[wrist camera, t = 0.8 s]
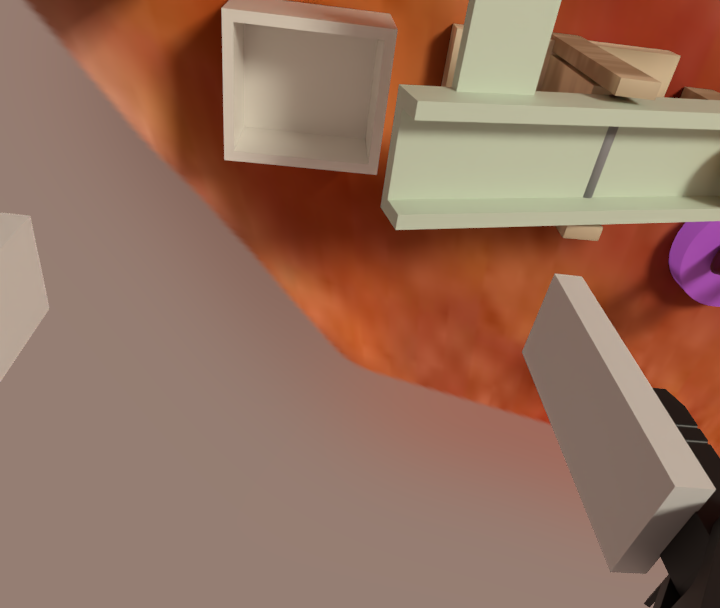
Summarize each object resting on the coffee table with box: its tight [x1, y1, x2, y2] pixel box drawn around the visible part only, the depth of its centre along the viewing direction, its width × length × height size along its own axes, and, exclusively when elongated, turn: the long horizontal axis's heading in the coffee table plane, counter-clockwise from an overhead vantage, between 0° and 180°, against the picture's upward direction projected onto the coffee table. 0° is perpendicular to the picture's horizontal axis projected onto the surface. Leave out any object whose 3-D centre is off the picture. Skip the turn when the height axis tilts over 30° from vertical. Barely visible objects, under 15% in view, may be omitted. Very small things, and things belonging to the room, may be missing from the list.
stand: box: [441, 24, 720, 241], centre depth 34 cm, size 8×18×11 cm, turn 84°
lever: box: [381, 0, 720, 230], centre depth 27 cm, size 14×23×3 cm, turn 84°
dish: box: [221, 0, 398, 175], centre depth 34 cm, size 8×9×5 cm
